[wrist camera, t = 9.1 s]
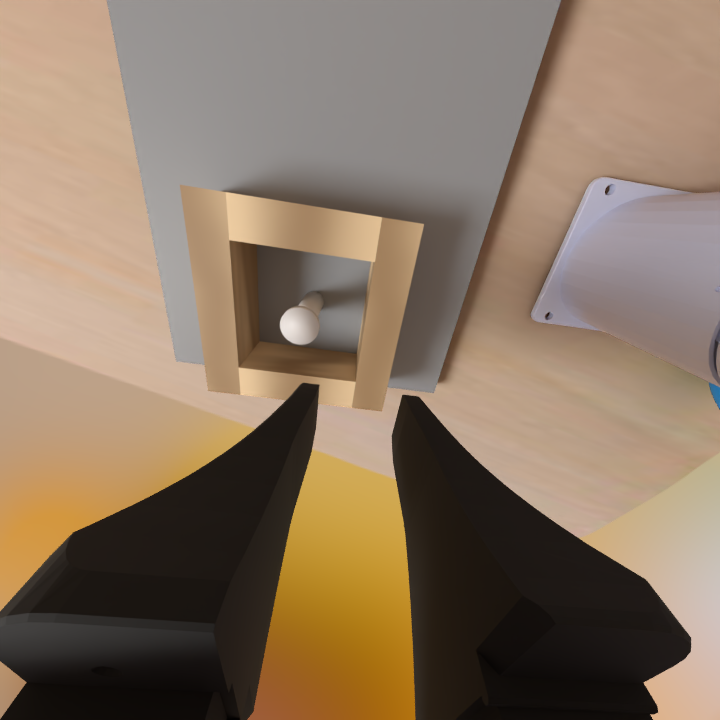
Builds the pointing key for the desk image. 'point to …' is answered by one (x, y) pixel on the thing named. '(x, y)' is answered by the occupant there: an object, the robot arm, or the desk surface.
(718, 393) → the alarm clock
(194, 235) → the oak frame
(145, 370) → the desk surface
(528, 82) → the slate board
